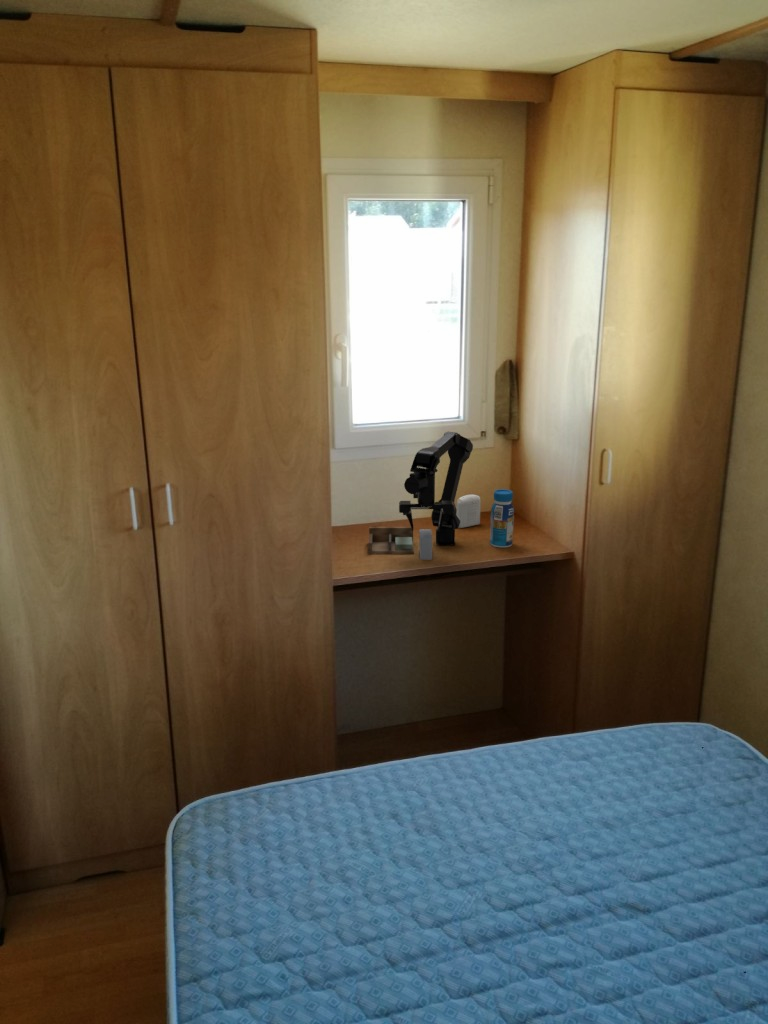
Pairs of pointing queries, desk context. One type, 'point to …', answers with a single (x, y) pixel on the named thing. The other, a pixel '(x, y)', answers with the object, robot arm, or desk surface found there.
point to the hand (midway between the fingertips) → (426, 530)
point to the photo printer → (468, 510)
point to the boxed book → (425, 544)
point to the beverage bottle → (502, 519)
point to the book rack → (391, 540)
